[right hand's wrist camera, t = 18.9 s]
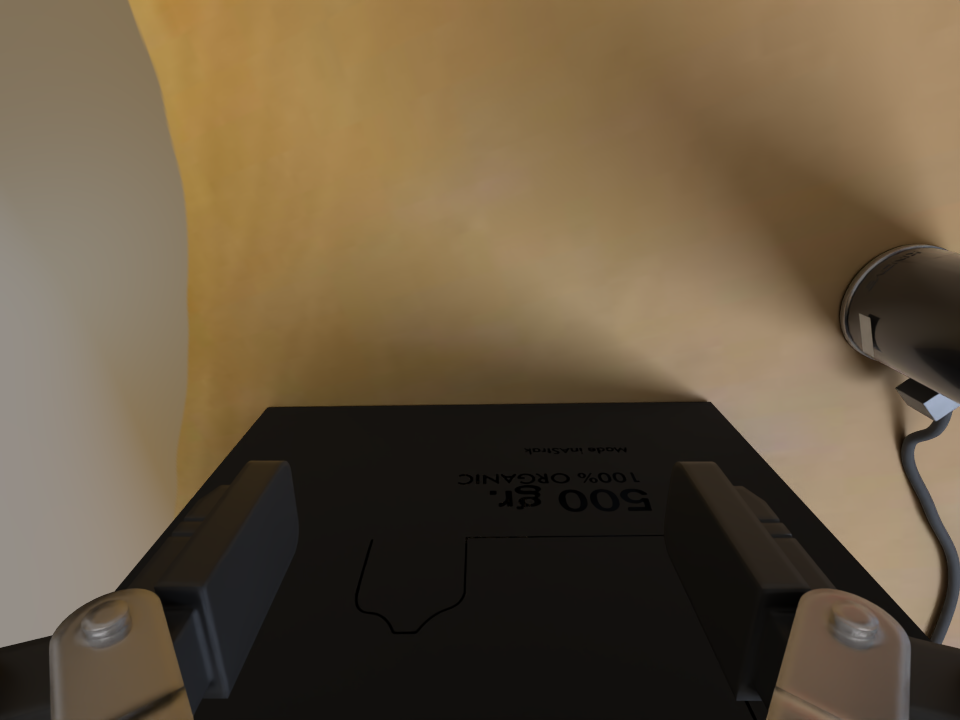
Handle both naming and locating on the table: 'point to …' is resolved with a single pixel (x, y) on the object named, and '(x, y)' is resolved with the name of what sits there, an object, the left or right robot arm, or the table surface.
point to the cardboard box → (496, 564)
